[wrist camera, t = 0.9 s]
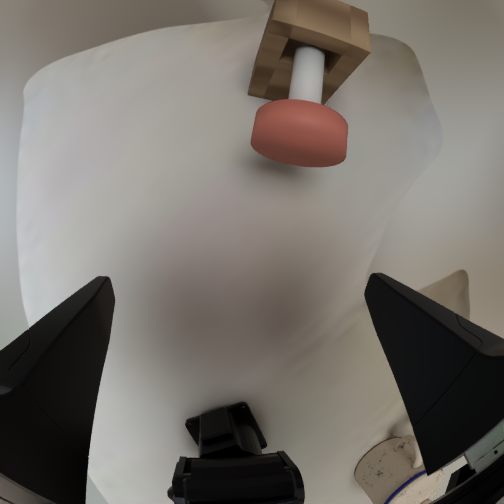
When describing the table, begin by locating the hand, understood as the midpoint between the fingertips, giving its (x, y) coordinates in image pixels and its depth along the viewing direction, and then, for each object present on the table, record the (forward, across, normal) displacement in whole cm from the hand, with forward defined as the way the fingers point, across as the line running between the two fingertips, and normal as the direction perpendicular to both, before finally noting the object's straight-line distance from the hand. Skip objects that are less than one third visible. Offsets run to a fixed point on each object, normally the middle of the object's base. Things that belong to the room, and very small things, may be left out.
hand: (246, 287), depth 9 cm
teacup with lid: (+1, -20, +30) cm, 36 cm away
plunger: (+15, -5, -5) cm, 16 cm away
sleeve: (+22, -6, -8) cm, 24 cm away
